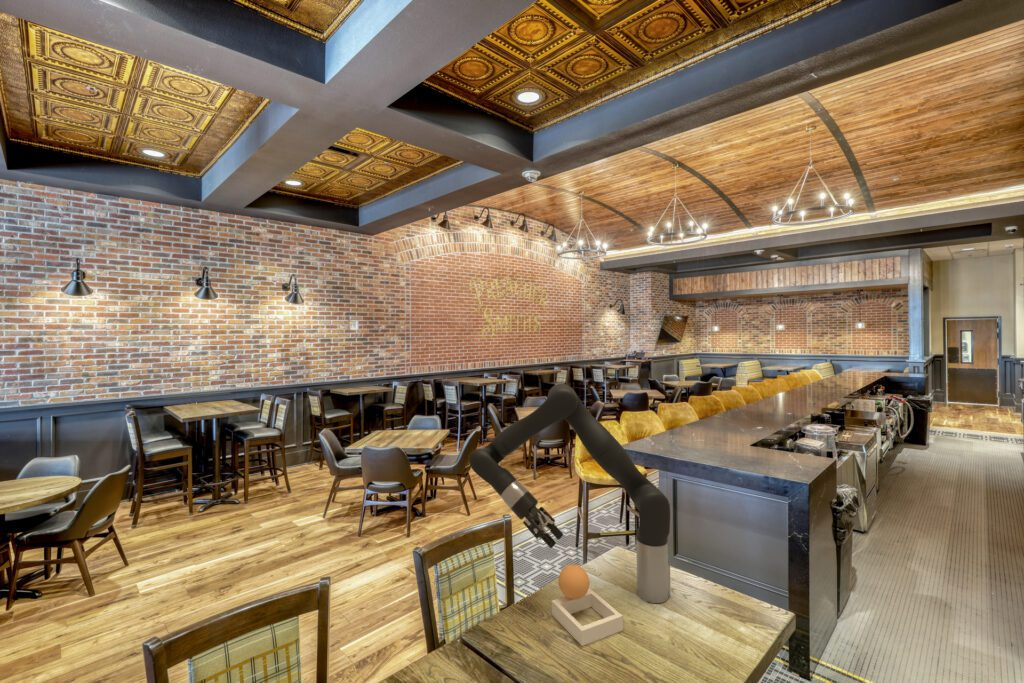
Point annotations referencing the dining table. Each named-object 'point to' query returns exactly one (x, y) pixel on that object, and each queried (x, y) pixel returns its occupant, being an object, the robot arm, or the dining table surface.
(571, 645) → the dining table surface
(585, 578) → the ball
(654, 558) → the robot arm
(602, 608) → the white square frame
